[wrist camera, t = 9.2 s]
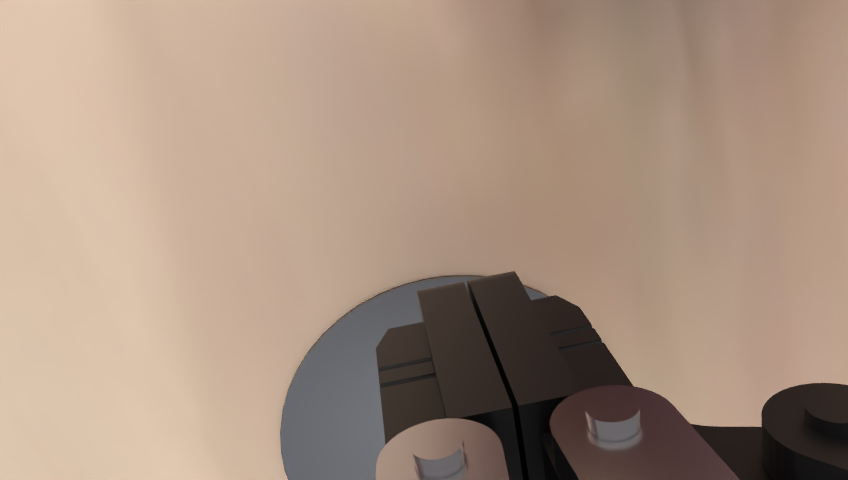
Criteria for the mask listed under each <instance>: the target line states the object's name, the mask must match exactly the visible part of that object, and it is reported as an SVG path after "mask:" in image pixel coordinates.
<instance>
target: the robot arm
mask: <svg viewBox="0 0 848 480" xmlns="http://www.w3.org/2000/svg"><path fill="white" fill-rule="evenodd" d="M417 297H418V303H419V308H420V314H421V319H422V322H420V323H415V324H410V325H405V326H400V327H395V328H390V329H388V330H387V331H386V333H385V334H384V336H383V338H382V339H381V341H380V342H379V344H378V346H377V347H376V356H377V366H378V375H379V385H380V395H381V405H382V415H383V425H384V435H385V446H384V448H383V449H382V451H381V452H380V454H379V457H378V459H377V464H376V479H375V480H848V385H842V384H832V383H812V384H804V385H798V386H794V387H790V388H788V389H785V390H782V391H780V392H778V393H777V394H775V395H773V396H772V397H771V398H770V399H769V400H768V401H767V402H766V403H765V405H764V407H763V410H762V427H713V426H701V425H694V424H690V423H689V422H688V421H687V420H686V419H685V418H684V417H683V416H682V415H681V413H680V412H679V411H678V410H677V409H676V408H675V407H674V406H673V405H672V404H671V403H670V402H669V401H668V400H667V399H665V398H664V397H662V396H660V395H659V394H656V393H654V392H652V391H649V390H646V389H643V388H638V387H634V386H633V385H632V383H631V382H630V381H629V379H628V378H627V376H626V375H625V373H624V372H623V370H622V369H621V367H620V366H619V364H618V363H617V361H616V360H615V359H614V357H613V356H612V354H611V353H610V351H609V350H608V348H607V347H606V345H605V344H604V343H602V341H601V338H600V337H599V335H598V334H597V332H596V331H595V329H594V328H593V329H592V325H591V323H590V322H589V320H588V319H587V318H586V316H585V315H584V313H583V312H582V310H581V309H580V307H578V306H576V305H574V304H572V303H570V302H568V301H566V300H564V299H562V298H560V297H558V296H556V295H555V296H550V297H545V298H540V299H535V300H531V299H530V297H529V296H528V294H527V292H526V290H525V288H524V287H523V285H522V283H521V281H520V279H519V278H518V276H517V274H516V273H515V272H514V271H513V272H508V273H503V274H498V275H493V276H488V277H483V278H477V279H472V280H467V288H466V286H465V283H464V282H458V283H453V284H448V285H443V286H438V287H432V288H427V289H422V290H417Z"/></svg>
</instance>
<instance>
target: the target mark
mask: <svg viewBox="0 0 848 480" xmlns="http://www.w3.org/2000/svg"><path fill="white" fill-rule="evenodd" d="M477 278H483V277H479V276H446V277H439V278H432V279H425V280H421V281H417V282H413V283H409V284H405V285H402V286H399V287H397V288H394V289H392V290H389V291H386V292H384V293H381V294H379V295H377V296H375V297H373V298H372V299H370V300H368V301H366V302H364V303H362V304H361V305H359V306H357V307H356V308H354V309H353V310H352V311H350V312H349V313H347V314H346V315H345V316H343V317H342V318H340V319H339V320H338V321H337V322H336V323H335V324H334V325H333V326H332V327H330V328H329V329H328V330H327V331H326V332H325V333H324V334H323V335H322V336H321V337H320V339H319V340H318V341H317V342H316V343H315V345H314V346H313V347H312V348H311V349H310V351H309V352H308V353H307V355H306V357H305V358H304V360H303V361H302V363H301V365H300V366H299V368H298V369H297V371H296V374H295V376H294V378H293V380H292V383H291V385H290V387H289V390H288V393H287V397H286V400H285V404H284V408H283V414H282V423H281V431H280V435H281V453H282V459H283V464H284V469H285V472H286V475H287V478H288V480H375V479H376V464H377V459H378V457H379V454H380V452H381V451H382V449H383V448H384V446H385V435H384V425H383V415H382V405H381V395H380V385H379V375H378V366H377V356H376V347H377V346H378V344H379V342H380V341H381V339H382V338H383V336H384V334H385V333H386V331H387V330H388V329H390V328H395V327H400V326H405V325H410V324H415V323H420V322H422V319H421V314H420V308H419V303H418V297H417V290H422V289H427V288H432V287H438V286H443V285H448V284H453V283H458V282H464V283H465V286H466V288H467V280H472V279H477ZM523 287H524V288H525V290H526V292H527V294H528V296H529V297H530V299H531V300H535V299H540V298H545V297H547V296H546V295H544V294H542V293H540V292H538V291H536V290H533V289H530V288H528V287H525V286H523Z"/></svg>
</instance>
